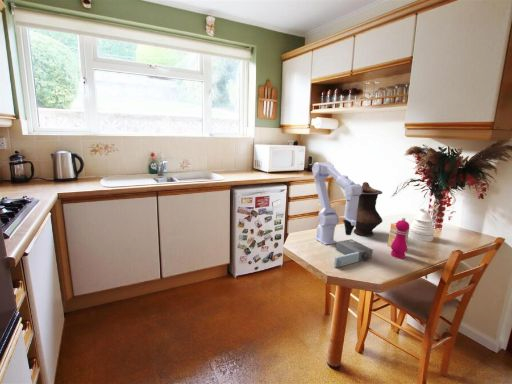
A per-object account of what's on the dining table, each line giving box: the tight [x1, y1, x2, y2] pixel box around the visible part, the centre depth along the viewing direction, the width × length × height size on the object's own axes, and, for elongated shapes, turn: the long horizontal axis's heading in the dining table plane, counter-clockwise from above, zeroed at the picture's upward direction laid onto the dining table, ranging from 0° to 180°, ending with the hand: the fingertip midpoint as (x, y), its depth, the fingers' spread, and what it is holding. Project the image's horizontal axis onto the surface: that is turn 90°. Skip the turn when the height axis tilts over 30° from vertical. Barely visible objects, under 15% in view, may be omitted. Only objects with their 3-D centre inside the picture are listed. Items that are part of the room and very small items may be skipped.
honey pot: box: [408, 207, 435, 243], centre depth 170 cm, size 13×13×18 cm
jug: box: [353, 181, 383, 237], centre depth 172 cm, size 21×18×30 cm
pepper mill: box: [390, 217, 410, 259], centre depth 142 cm, size 7×7×20 cm
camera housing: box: [335, 239, 373, 262], centre depth 143 cm, size 15×10×5 cm, turn 27°
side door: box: [333, 252, 359, 268], centre depth 131 cm, size 14×2×4 cm, turn 118°
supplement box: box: [387, 222, 410, 248], centre depth 153 cm, size 8×5×13 cm, turn 21°
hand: (348, 234), depth 144 cm, fingers closed
